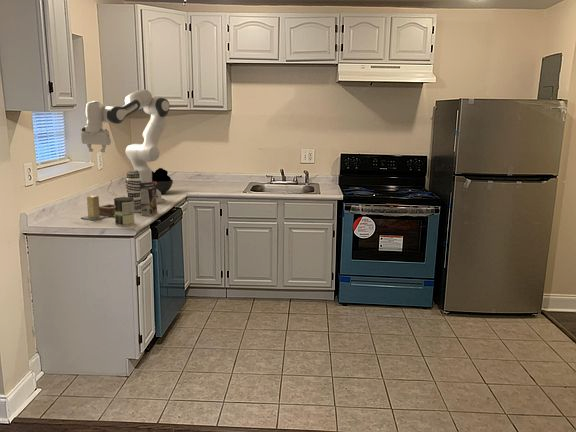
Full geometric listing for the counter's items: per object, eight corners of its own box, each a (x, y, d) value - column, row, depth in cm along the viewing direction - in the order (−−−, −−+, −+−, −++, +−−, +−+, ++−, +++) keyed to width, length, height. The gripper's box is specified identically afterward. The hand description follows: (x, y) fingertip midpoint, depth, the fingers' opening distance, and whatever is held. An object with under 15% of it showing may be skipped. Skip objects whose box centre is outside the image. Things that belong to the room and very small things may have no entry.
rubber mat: (94, 215, 299) (94, 214, 299) (107, 217, 295) (107, 216, 294) (80, 218, 290) (80, 217, 290) (93, 220, 286) (93, 219, 286)
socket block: (109, 212, 310) (109, 203, 309) (123, 213, 305) (122, 205, 304) (96, 215, 300) (96, 206, 299) (110, 216, 296) (109, 208, 295)
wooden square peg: (94, 215, 295) (92, 195, 293) (99, 216, 293) (98, 196, 291) (88, 217, 291) (86, 196, 289) (93, 218, 289) (92, 197, 287)
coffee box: (151, 216, 300) (150, 189, 296) (141, 215, 301) (139, 188, 297) (157, 213, 309) (156, 186, 305) (147, 212, 310) (146, 186, 306)
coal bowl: (175, 191, 390) (174, 167, 386) (170, 195, 370) (170, 170, 366) (148, 191, 388) (147, 166, 385) (142, 195, 369) (141, 169, 365)
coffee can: (113, 226, 273) (111, 200, 270) (117, 222, 283) (116, 197, 280) (132, 226, 274) (131, 200, 271) (136, 221, 284) (135, 197, 281)
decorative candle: (124, 211, 311) (122, 171, 306) (131, 208, 320) (129, 169, 315) (138, 212, 310) (136, 171, 305) (144, 209, 319) (143, 169, 314)
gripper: (112, 129, 302) (114, 152, 305) (86, 128, 310) (88, 150, 313) (104, 129, 296) (106, 153, 299) (78, 128, 305) (80, 151, 308)
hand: (97, 152), depth 306 cm, fingers open, 8 cm apart
